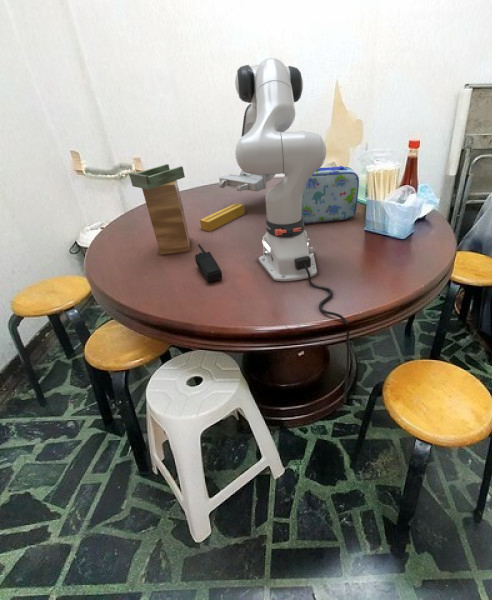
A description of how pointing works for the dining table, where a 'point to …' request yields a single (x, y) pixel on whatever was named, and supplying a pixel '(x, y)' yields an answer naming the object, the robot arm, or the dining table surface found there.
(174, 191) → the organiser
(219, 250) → the dining table surface
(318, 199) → the lunch box
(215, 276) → the walkie-talkie
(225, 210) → the pencil case
